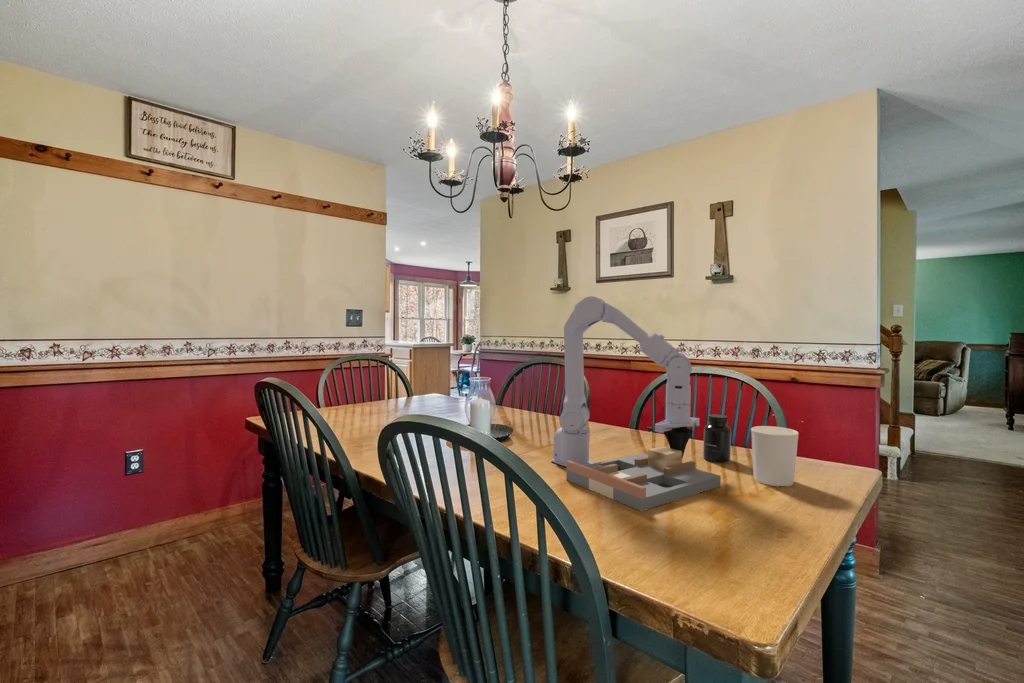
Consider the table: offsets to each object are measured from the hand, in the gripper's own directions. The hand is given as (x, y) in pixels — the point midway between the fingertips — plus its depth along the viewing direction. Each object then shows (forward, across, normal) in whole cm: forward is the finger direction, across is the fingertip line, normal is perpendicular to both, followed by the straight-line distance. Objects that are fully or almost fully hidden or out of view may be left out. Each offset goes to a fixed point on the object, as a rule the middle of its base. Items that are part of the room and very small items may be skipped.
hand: (677, 458), depth 119 cm
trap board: (+4, -13, 0) cm, 13 cm away
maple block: (+1, -5, 0) cm, 5 cm away
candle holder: (+4, +14, -16) cm, 22 cm away
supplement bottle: (+4, +19, +2) cm, 20 cm away
